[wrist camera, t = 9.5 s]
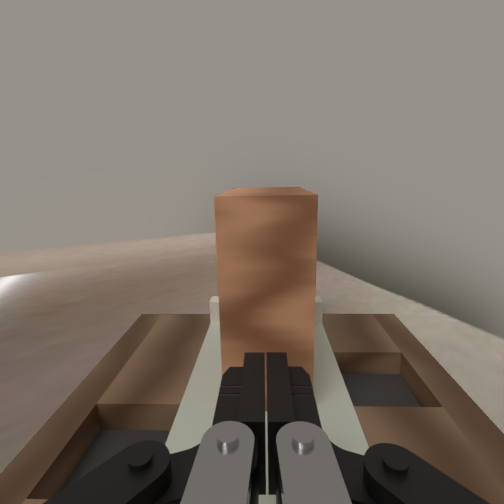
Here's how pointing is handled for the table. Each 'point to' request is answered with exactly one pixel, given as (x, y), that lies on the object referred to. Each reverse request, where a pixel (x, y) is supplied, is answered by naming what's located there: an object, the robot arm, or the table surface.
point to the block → (266, 274)
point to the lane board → (205, 399)
